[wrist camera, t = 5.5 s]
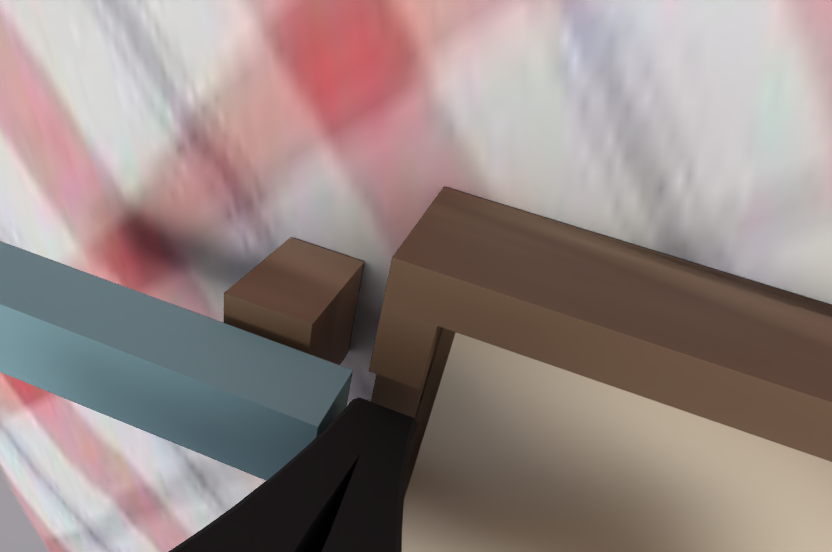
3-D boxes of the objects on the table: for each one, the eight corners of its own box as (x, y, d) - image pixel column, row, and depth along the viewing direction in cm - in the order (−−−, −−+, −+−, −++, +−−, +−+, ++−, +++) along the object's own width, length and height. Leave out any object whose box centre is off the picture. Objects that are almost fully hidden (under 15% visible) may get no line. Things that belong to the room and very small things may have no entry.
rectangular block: (340, 437, 11) (307, 496, 10) (16, 312, 13) (-52, 350, 11) (352, 370, 10) (317, 427, 9) (-1, 240, 12) (-79, 273, 10)
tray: (756, 711, 17) (793, 870, 14) (267, 508, 19) (207, 605, 16) (1169, 408, 10) (1439, 602, 7) (299, 142, 12) (201, 194, 9)
